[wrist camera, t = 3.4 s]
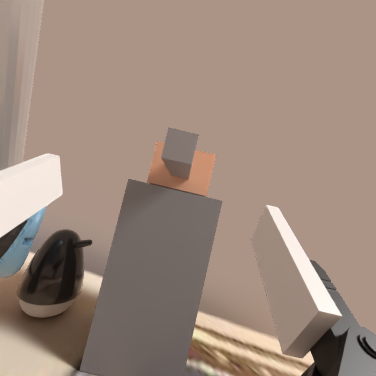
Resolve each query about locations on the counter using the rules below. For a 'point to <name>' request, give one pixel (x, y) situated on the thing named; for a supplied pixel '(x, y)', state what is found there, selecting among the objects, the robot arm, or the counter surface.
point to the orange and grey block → (181, 164)
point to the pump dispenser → (53, 275)
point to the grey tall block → (152, 283)
